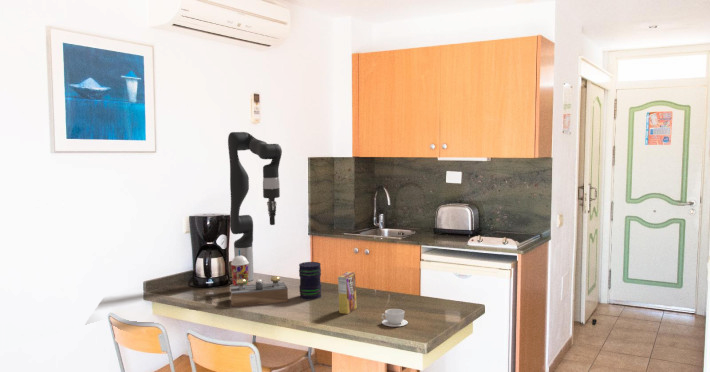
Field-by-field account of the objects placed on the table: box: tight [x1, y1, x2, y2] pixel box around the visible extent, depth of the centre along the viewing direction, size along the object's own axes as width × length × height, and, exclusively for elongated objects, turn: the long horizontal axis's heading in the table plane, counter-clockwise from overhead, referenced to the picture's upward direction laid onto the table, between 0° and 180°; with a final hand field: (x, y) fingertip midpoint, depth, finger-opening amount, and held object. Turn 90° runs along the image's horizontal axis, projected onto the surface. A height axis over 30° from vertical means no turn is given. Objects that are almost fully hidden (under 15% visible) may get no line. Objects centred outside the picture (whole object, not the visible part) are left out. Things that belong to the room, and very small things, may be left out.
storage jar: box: [298, 261, 322, 301], centre depth 258 cm, size 10×10×15 cm
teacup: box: [381, 308, 409, 328], centre depth 219 cm, size 10×10×5 cm
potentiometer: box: [255, 279, 263, 290], centre depth 250 cm, size 3×3×4 cm
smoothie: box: [230, 250, 249, 286], centre depth 269 cm, size 8×8×20 cm
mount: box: [230, 281, 289, 307], centre depth 254 cm, size 12×24×6 cm, turn 104°
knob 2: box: [270, 275, 281, 287], centre depth 256 cm, size 4×4×9 cm
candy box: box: [337, 271, 357, 315], centre depth 236 cm, size 9×4×15 cm, turn 156°
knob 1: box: [237, 279, 246, 290], centre depth 252 cm, size 4×4×9 cm
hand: (272, 224), depth 264 cm, fingers closed
